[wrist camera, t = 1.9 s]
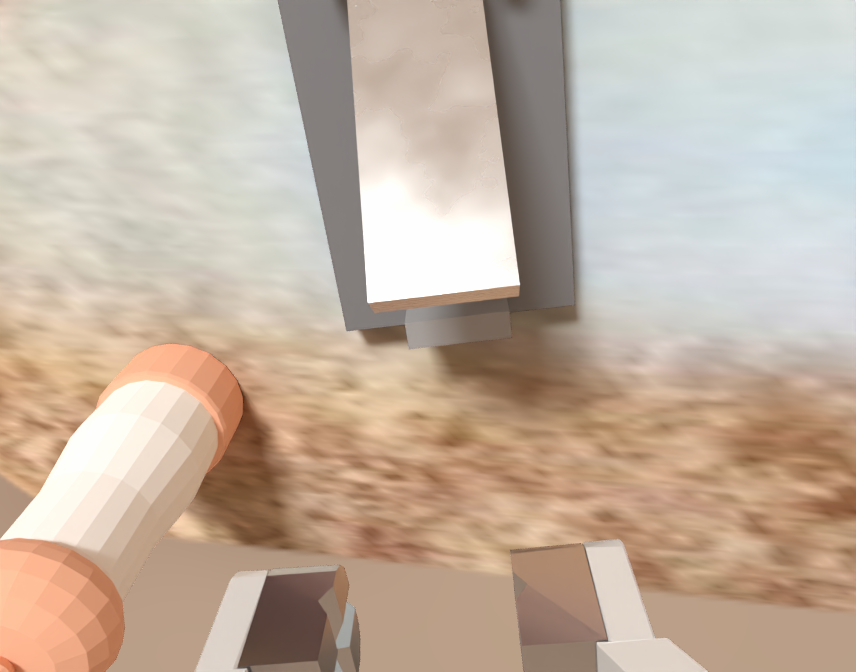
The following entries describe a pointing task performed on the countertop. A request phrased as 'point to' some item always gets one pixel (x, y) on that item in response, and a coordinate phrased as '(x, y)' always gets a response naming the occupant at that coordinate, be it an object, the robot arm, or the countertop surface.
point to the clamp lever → (429, 155)
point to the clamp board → (522, 152)
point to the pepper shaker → (111, 508)
